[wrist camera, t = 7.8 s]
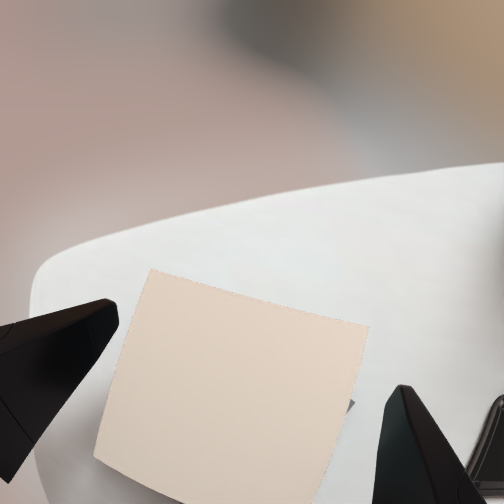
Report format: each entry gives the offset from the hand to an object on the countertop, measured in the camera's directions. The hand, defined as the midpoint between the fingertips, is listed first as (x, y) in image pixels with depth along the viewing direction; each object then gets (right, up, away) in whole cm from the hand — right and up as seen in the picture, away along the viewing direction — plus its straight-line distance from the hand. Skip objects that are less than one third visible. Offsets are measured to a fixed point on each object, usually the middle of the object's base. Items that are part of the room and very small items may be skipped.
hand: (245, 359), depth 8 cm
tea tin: (+1, -5, +8) cm, 9 cm away
